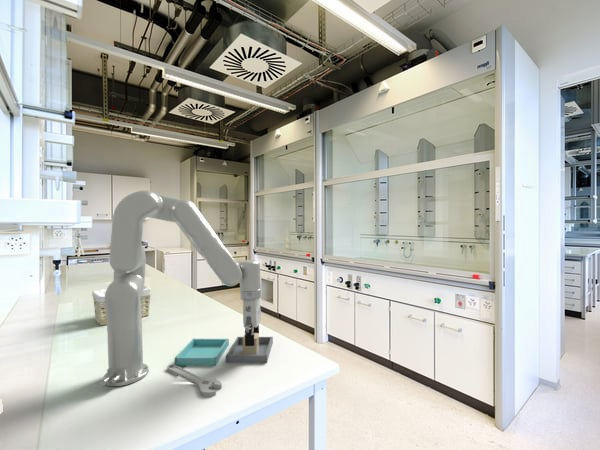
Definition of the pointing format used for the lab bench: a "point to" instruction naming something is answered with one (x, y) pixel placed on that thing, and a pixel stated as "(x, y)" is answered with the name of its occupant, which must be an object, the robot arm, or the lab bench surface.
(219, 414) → the lab bench surface
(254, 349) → the sandstone block
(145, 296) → the storage basket
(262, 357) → the charcoal bin
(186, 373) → the adjustable wrench
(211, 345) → the teal bin
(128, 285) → the robot arm
